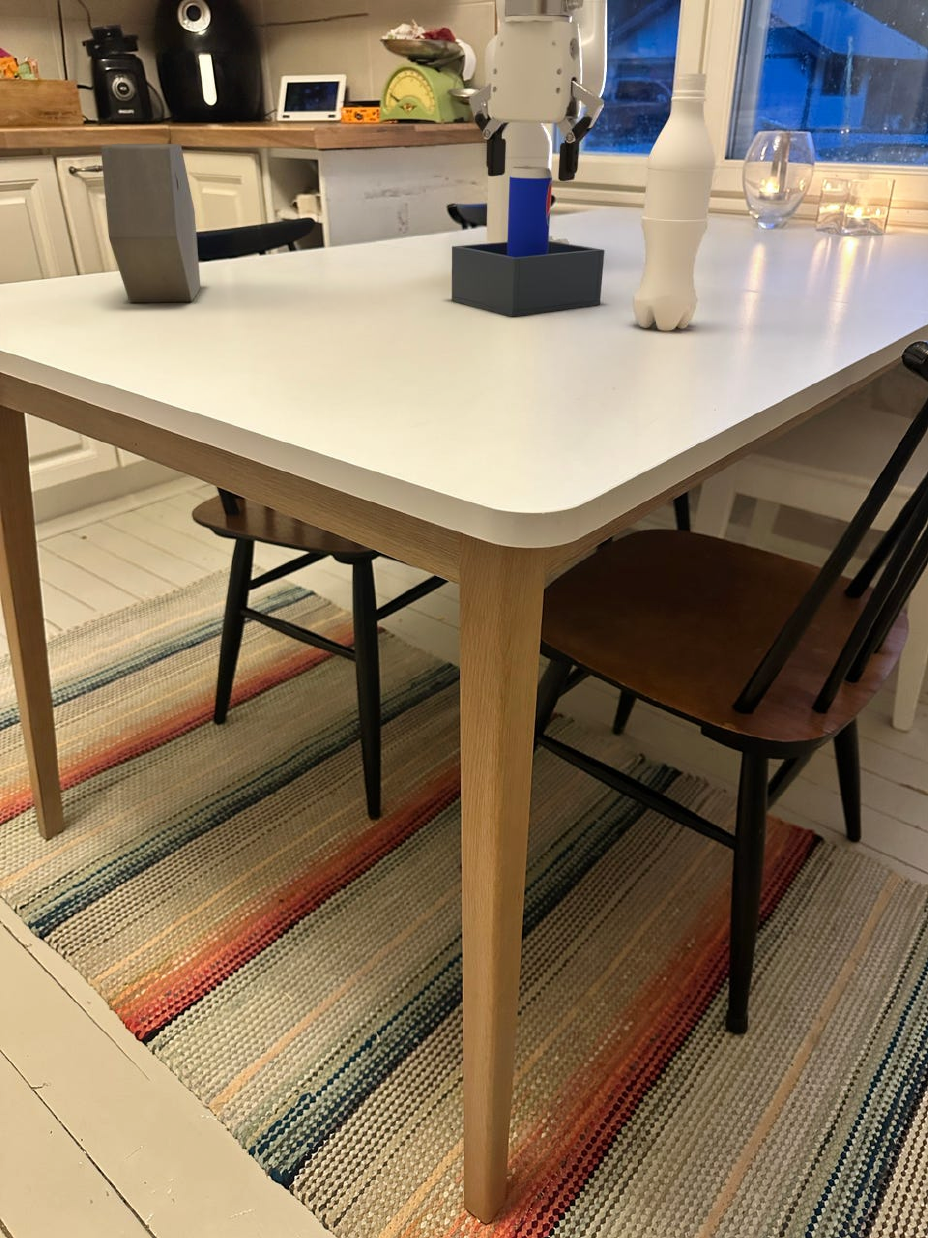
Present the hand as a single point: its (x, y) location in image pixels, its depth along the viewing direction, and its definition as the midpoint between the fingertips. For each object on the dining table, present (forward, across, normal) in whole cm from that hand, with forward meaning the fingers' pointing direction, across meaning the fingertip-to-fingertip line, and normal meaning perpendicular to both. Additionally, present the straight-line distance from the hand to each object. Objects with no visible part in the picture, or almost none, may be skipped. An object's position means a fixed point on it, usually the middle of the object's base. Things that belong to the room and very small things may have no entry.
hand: (530, 177), depth 108 cm
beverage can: (+14, 0, +1) cm, 14 cm away
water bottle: (+14, -20, +5) cm, 25 cm away
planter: (+15, +40, +24) cm, 49 cm away
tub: (+14, 0, +1) cm, 15 cm away
